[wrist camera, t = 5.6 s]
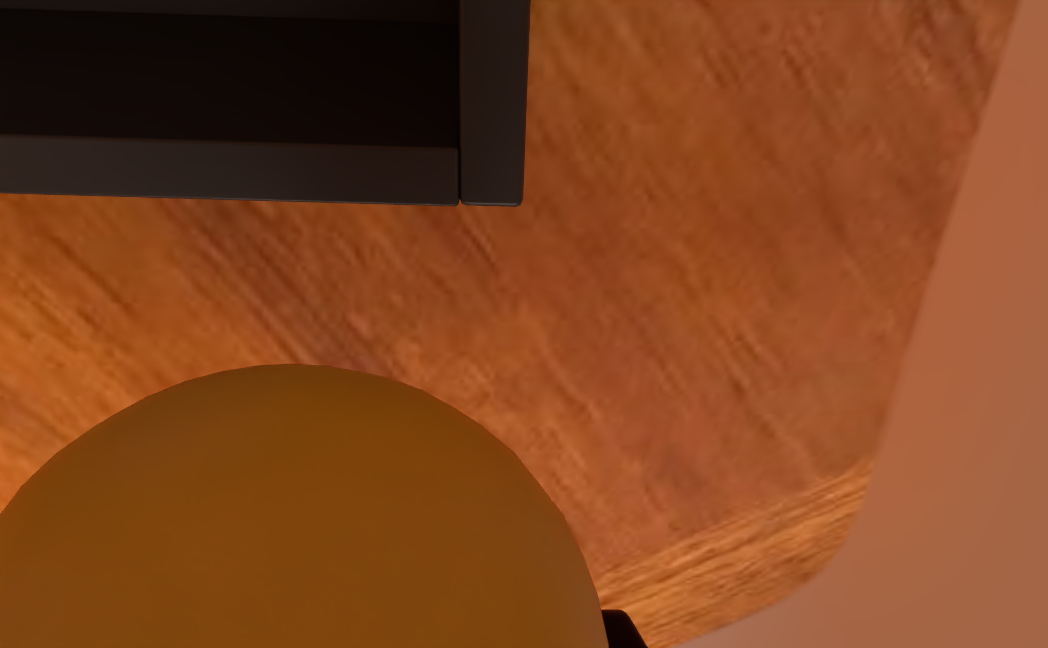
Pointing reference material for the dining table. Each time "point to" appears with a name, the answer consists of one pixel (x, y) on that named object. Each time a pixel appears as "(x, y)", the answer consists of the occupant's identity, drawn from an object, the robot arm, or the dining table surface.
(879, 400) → the dining table surface
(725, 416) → the dining table surface
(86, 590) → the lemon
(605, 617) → the robot arm
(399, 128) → the box
